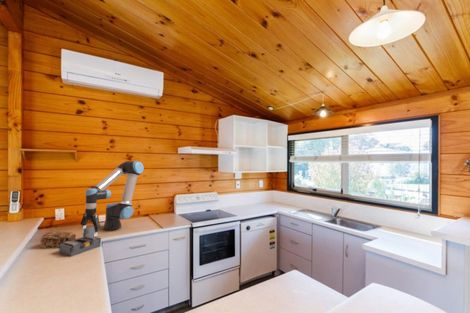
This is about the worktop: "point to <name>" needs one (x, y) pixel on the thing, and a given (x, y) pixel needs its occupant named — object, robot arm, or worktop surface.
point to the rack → (79, 245)
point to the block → (88, 231)
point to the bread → (56, 239)
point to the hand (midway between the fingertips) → (89, 235)
